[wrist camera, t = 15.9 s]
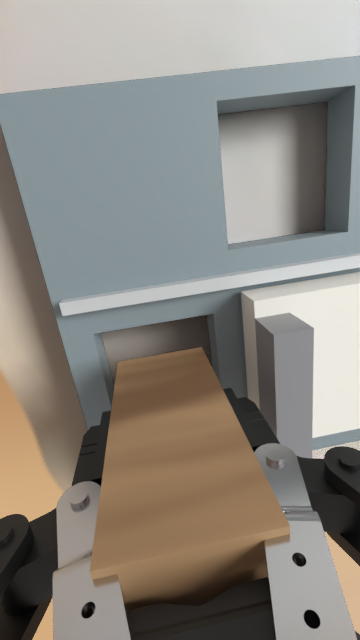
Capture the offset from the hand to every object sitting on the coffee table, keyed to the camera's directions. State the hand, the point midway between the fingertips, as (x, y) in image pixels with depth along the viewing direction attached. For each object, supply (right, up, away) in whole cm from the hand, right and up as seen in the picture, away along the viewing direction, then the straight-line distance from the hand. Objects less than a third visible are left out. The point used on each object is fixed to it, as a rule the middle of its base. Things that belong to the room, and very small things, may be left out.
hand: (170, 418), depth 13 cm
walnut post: (0, +1, +2) cm, 2 cm away
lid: (+8, +2, +4) cm, 9 cm away
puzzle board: (+3, +5, +4) cm, 7 cm away
